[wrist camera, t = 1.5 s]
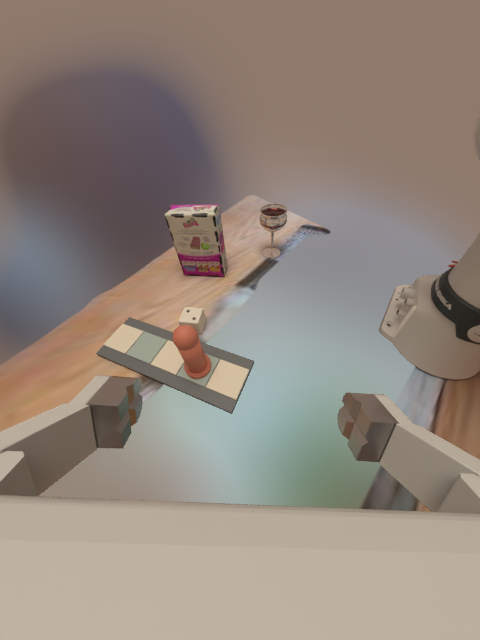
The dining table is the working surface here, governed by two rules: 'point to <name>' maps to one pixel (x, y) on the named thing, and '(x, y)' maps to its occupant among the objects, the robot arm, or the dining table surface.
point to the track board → (177, 363)
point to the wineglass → (273, 224)
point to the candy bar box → (198, 239)
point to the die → (193, 318)
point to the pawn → (191, 352)
